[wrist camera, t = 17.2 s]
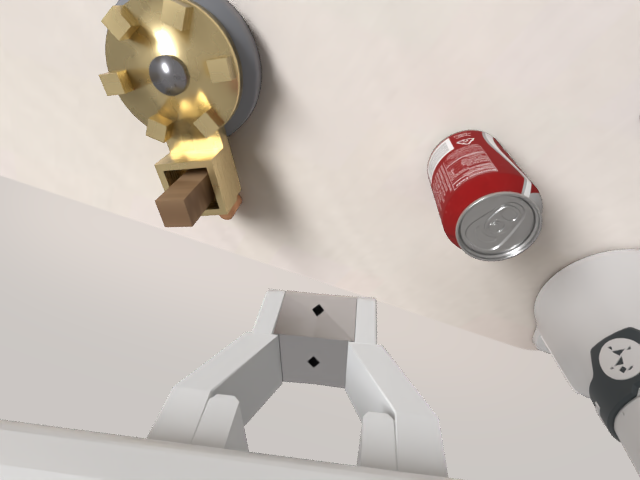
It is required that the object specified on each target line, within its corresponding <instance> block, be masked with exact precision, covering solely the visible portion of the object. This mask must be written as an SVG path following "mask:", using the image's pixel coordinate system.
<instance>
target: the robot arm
mask: <svg viewBox="0 0 640 480" xmlns="http://www.w3.org/2000/svg"><path fill="white" fill-rule="evenodd" d="M376 310H377V309H376V299H375V298H370V297H353V296H340V295H328V294H316V293H307V292H297V291H288V290H287V291H284V290H276V289H269V290H268V291H267V292H266V294H265V297H264V300H263V303H262V305H261V308H260V311H259V314H258V316H257V319H256V322H255V325H254V327H253V330H252V332H246V333H244V334H243V335H241V336H240V337H239V338H238V339H236V340H235V341H234V342H232V343H231V344H230V345H228V346H227V347H226V348H224V349H223V350H222V351H220V352H219V353H218V354H216V355H215V356H214V357H212V358H211V359H210V360H208V361H207V362H206V363H204V364H203V365H202V366H200V367H199V368H198V369H196V370H195V371H194V372H192V373H191V374H190V375H188V376H187V377H186V378H184V379H183V380H182V381H180V382H179V383H178V384H176V385H175V386H174V387H173V388H172V390H171V392H170V394H169V396H168V398H167V400H166V402H165V404H164V406H163V407H162V409H161V411H160V413H159V415H158V417H157V419H156V421H155V423H154V425H153V427H152V429H151V431H150V433H149V435H148V437H147V439H146V438H138V437H130V436H122V435H115V434H108V433H100V432H92V431H84V430H77V429H69V428H62V427H53V426H46V425H39V424H31V423H23V422H16V421H8V420H1V419H0V480H461V479H453V478H448V473H447V467H446V460H445V454H444V448H443V441H442V435H441V428H440V422H439V418H438V417H437V415H436V414H435V413H434V411H433V410H432V409H431V407H430V406H429V405H428V404H427V402H426V401H425V400H424V398H423V397H422V396H421V394H420V393H419V392H418V391H417V389H416V388H415V387H414V385H413V384H412V383H411V381H410V380H409V379H408V378H407V376H406V375H405V374H404V372H403V371H402V370H401V369H400V368H399V366H398V365H397V363H396V362H395V361H394V359H393V358H392V357H391V356H390V354H389V353H388V352H387V350H386V349H385V348H384V346H383V345H377V317H376V316H377V315H376V314H377V311H376ZM534 315H535V319H536V323H537V328H536V330H535V332H534V335H533V343H534V345H535V346H536V348H537V349H538V350H540V351H544V352H546V353H549V354H551V355H552V357H553V358H554V360H555V362H556V363H557V365H558V367H559V368H560V370H561V372H562V373H563V375H564V377H565V378H566V380H567V382H568V383H569V385H570V387H571V388H572V389H573V390H574V391H575V392H576V393H577V394H581V395H583V396H585V397H588V398H591V400H592V402H593V404H594V406H595V408H596V411H597V413H598V416H599V417H600V419H601V421H602V422H603V423H604V425H605V426H606V427H607V428H608V430H609V432H610V433H611V435H612V436H613V437H614V438H615V439H617V440H618V441H619V442H621V443H622V445H623V447H624V448H625V451H626V452H627V454H628V456H629V458H630V460H631V462H632V463H633V465H634V467H635V469H636V471H637V472H638V474H639V476H640V249H622V250H612V251H606V252H602V253H598V254H594V255H591V256H588V257H585V258H583V259H580V260H578V261H576V262H574V263H572V264H570V265H568V266H567V267H565V268H563V269H562V270H560V271H559V272H558V273H556V274H555V275H554V276H553V277H552V278H550V279H549V280H548V281H547V283H546V284H545V285H544V286H543V287H542V289H541V290H540V292H539V294H538V296H537V298H536V301H535V305H534ZM282 381H285V382H297V383H308V384H317V385H325V386H332V387H340V388H345V391H346V393H347V395H348V397H349V399H350V401H351V402H352V405H353V407H354V409H355V411H356V413H357V415H358V417H359V419H360V421H361V423H362V429H361V436H360V444H359V451H358V459H357V466H354V465H346V464H338V463H330V462H323V461H314V460H308V459H299V458H292V457H284V456H276V455H269V454H261V453H253V452H249V450H248V444H247V439H246V434H245V429H244V426H245V425H246V424H247V423H248V422H249V420H250V419H251V418H252V417H253V416H254V415H255V414H256V412H257V411H258V410H259V409H260V408H261V407H262V406H263V405H264V404H265V402H266V401H267V400H268V399H269V398H270V397H271V396H272V394H273V393H274V392H275V391H276V390H277V389H278V388H279V387H280V386H281V384H282Z"/></svg>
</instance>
